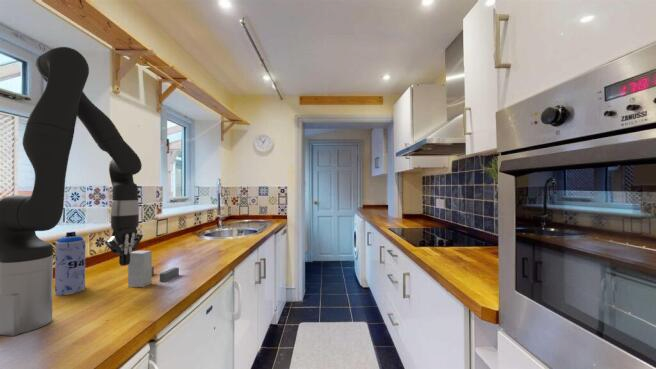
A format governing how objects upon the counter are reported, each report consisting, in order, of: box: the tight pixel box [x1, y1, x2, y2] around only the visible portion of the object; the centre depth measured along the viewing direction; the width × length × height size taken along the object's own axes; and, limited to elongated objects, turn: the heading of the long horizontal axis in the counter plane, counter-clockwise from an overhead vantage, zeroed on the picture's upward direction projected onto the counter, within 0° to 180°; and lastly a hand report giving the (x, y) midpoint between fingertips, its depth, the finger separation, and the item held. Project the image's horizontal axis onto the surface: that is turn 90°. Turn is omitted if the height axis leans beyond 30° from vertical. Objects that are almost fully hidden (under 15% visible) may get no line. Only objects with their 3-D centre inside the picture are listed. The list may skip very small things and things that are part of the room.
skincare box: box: [127, 250, 153, 288], centre depth 98 cm, size 6×4×12 cm
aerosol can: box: [53, 231, 87, 296], centre depth 93 cm, size 8×8×20 cm
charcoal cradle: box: [152, 266, 180, 283], centre depth 106 cm, size 8×13×3 cm, turn 83°
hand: (124, 264), depth 92 cm, fingers closed
